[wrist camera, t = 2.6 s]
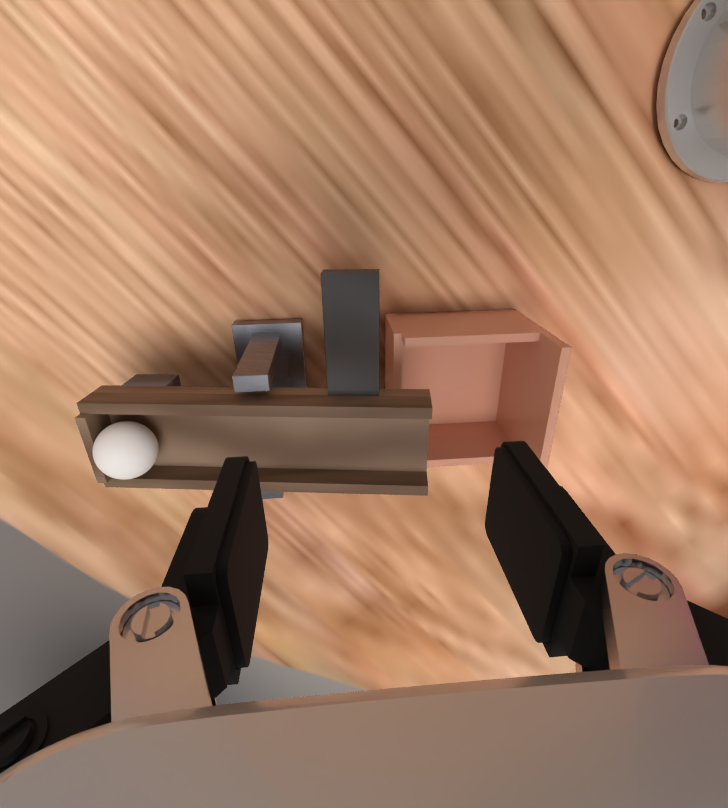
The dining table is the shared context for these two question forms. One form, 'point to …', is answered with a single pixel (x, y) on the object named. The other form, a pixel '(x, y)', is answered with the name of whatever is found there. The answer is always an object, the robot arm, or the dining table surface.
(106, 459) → the ball
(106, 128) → the dining table surface
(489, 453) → the cup
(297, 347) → the stand
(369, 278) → the lever
